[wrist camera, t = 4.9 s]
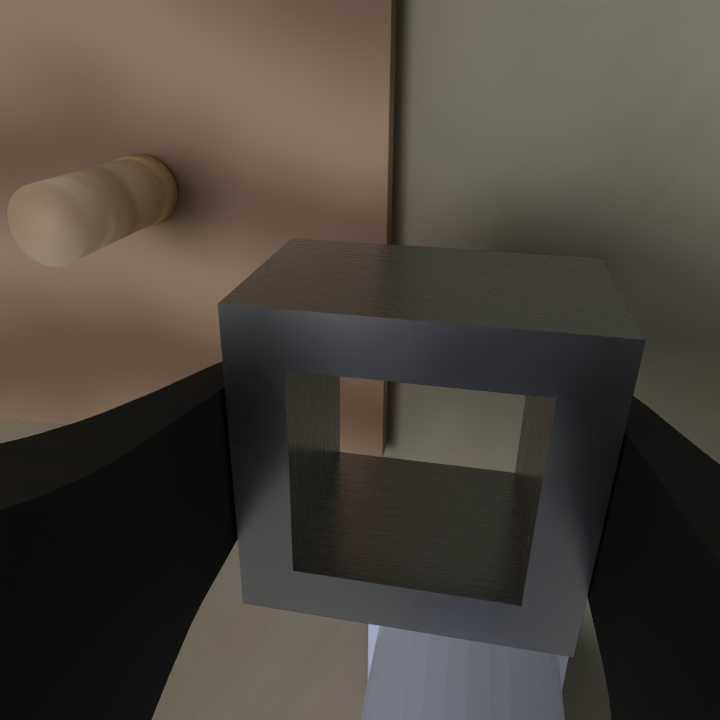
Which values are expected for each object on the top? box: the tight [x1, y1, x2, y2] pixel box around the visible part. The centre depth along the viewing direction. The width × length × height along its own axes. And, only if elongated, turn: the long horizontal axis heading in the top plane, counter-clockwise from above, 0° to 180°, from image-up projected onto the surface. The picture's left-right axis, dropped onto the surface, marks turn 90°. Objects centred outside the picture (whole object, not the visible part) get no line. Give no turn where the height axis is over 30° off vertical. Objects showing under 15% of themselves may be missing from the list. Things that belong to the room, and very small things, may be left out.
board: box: [0, 0, 397, 457], centre depth 18 cm, size 18×15×6 cm
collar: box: [218, 238, 645, 657], centre depth 11 cm, size 5×5×4 cm
